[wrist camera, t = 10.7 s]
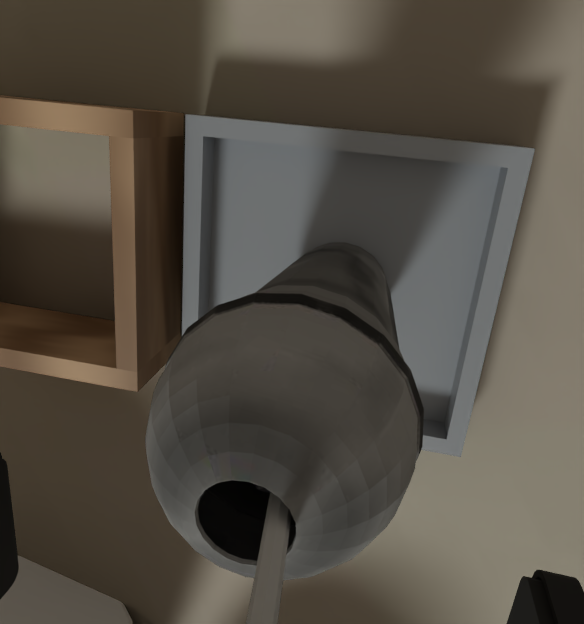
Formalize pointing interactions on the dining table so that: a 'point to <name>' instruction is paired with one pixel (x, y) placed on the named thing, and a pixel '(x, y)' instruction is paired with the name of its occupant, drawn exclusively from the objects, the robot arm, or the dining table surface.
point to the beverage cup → (288, 424)
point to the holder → (126, 252)
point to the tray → (362, 234)
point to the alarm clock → (56, 600)
